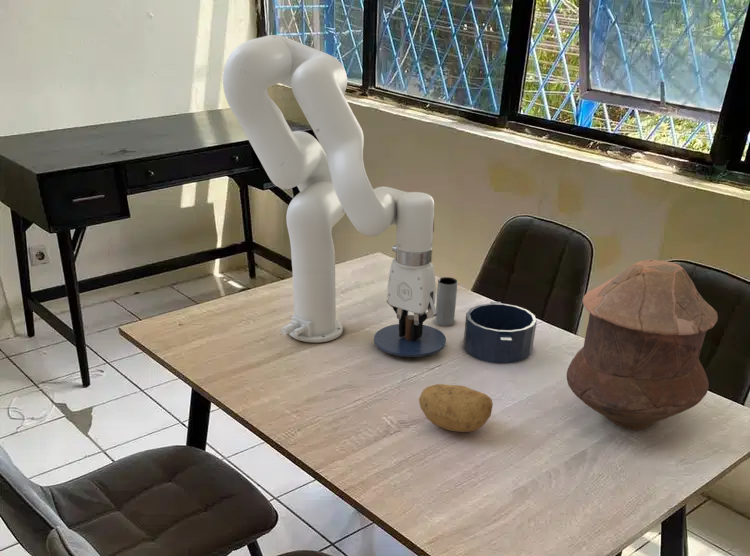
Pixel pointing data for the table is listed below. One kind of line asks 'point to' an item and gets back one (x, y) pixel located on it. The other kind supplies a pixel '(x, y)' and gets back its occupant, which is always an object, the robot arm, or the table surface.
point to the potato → (455, 407)
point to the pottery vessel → (643, 346)
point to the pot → (499, 333)
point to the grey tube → (446, 301)
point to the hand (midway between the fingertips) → (410, 336)
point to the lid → (409, 340)
